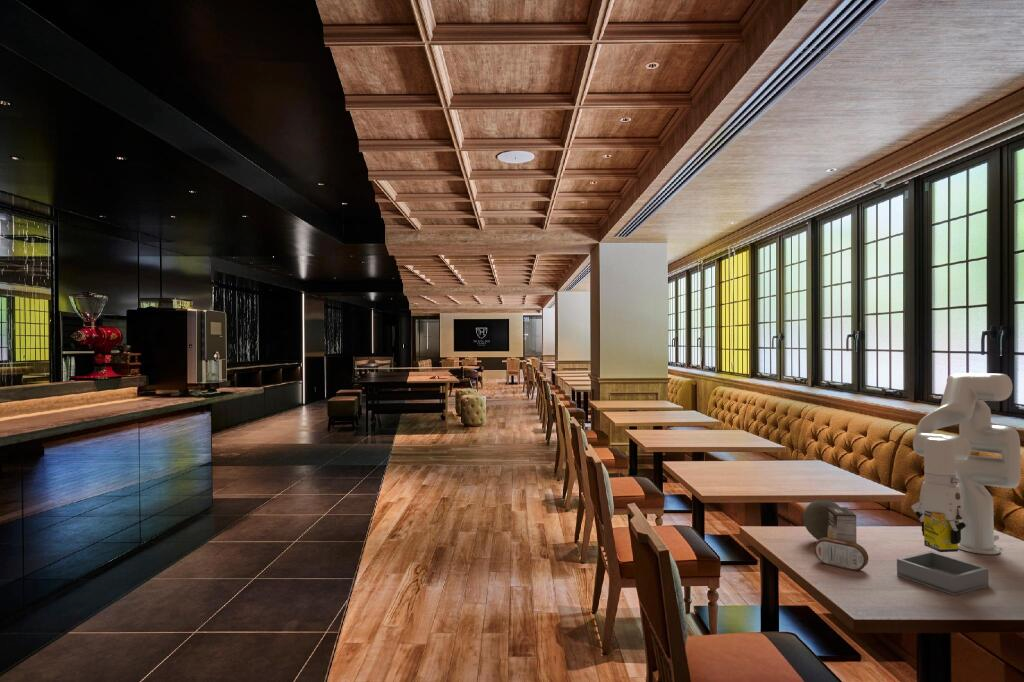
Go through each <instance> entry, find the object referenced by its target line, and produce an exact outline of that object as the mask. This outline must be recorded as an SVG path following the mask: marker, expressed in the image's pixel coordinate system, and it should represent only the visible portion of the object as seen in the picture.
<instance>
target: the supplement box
mask: <svg viewBox="0 0 1024 682" xmlns="http://www.w3.org/2000/svg"><path fill="white" fill-rule="evenodd" d="M957 517H958V515H957ZM954 522H955V521H954ZM951 530H953V528H952V526H951V525H950V523H949V521H948V520H946V519H945V516H944V515H943V514H939V513H934V512H930V511H925V513H924V536H923V541H924V543H923V545H924V546H925V547H927V548H930V549H932V550H934V551H936V552H938V553H953V552H954V553H955V552H956V553H957V552H959V548H958V544H952V543H951Z"/></svg>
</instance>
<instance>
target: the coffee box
mask: <svg viewBox="0 0 1024 682" xmlns="http://www.w3.org/2000/svg"><path fill="white" fill-rule="evenodd" d="M827 528H828V537H830V538H835V539H839V540H844V541H849V542H854V543H857V514H855V513H854V512H853V511H852V510H850V508H848V507H846V506H845V507H841V506H840V507H827Z"/></svg>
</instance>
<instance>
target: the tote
mask: <svg viewBox="0 0 1024 682" xmlns="http://www.w3.org/2000/svg"><path fill="white" fill-rule="evenodd" d="M897 575H898V577H900V576H901V577H900V578H902V579H903V578H904V579H906V580H909V581H911V580H912V581H911V582H914V581H915V582H916V583H917V582H918V583H917V584H920V583H921V584H920V585H923V584H924V585H923V586H926V585H927V586H926V587H928V586H930V587H929V588H931V587H932V589H934V588H935V589H934V590H937V589H938V591H940V590H941V591H940V592H943V593H945V592H946V594H948V593H949V595H951V594H952V596H954V595H955V596H957V595H958V594H959V595H963V594H965V592H966V593H969V592H972V591H975V590H976V591H977V590H979V589H982V588H986V587H989V585H990V582H989V581H990V580H989V577H990V576H989V568H988V567H985V566H983V565H982V566H981V565H979V564H975V563H971V562H969V561H966V560H962V559H958V558H954V557H951V556H949V555H944V554H941V553H939V552H938V553H937V552H935V551H932V550H930V551H925V552H921V553H917V554H912V555H908V556H904V557H899V558H897V559H896V576H897ZM915 582H914V583H915Z"/></svg>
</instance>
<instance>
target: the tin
mask: <svg viewBox="0 0 1024 682" xmlns="http://www.w3.org/2000/svg"><path fill="white" fill-rule="evenodd" d="M813 550H814V554H815V557H816V558H817V559H818V560H819V561H820V562H821V563H823V564H824V565H828V566H832V567H835V566H836V568H840V567H841V568H840V569H844V568H845V570H848V569H850V570H849V571H853V570H854V571H853V572H856V571H857V572H858V571H861V570H863V569H864V568H865V567H867V565H868V563H869V554H868V552H867V550H866V548H864V547H863V546H862V545H860V544H859V543H857V542H856V543H854V542H849V541H844V540H839V539H835V538H830V537H823V538H820V539H819V540H817V541H816V543H815V544H814V547H813Z"/></svg>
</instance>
